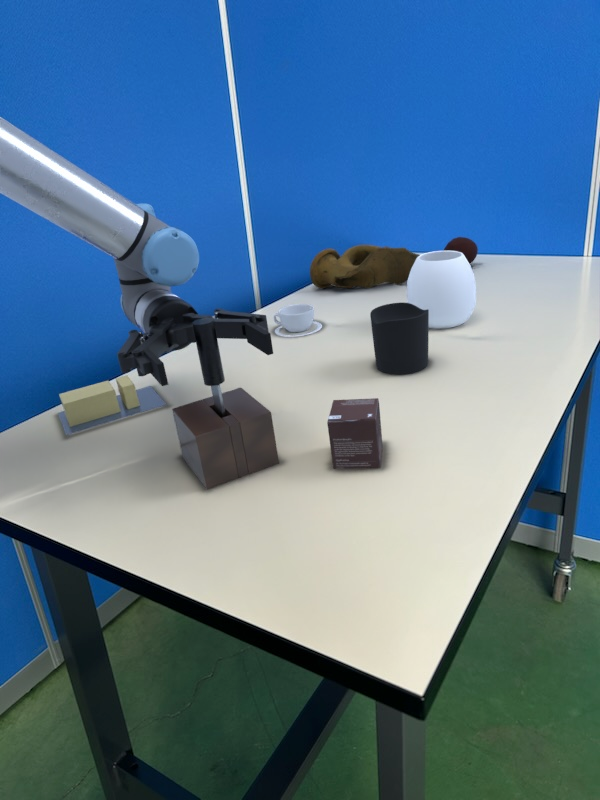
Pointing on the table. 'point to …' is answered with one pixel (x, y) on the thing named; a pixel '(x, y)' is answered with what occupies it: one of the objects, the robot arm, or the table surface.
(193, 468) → the knife block
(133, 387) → the butter slice
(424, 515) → the table surface
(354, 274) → the brown looped sculpture
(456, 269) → the white vase
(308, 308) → the teacup
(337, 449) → the box
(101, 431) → the table surface
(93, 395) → the butter stick
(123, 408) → the butter dish
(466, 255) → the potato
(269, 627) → the table surface
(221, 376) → the knife
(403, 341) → the pen holder
